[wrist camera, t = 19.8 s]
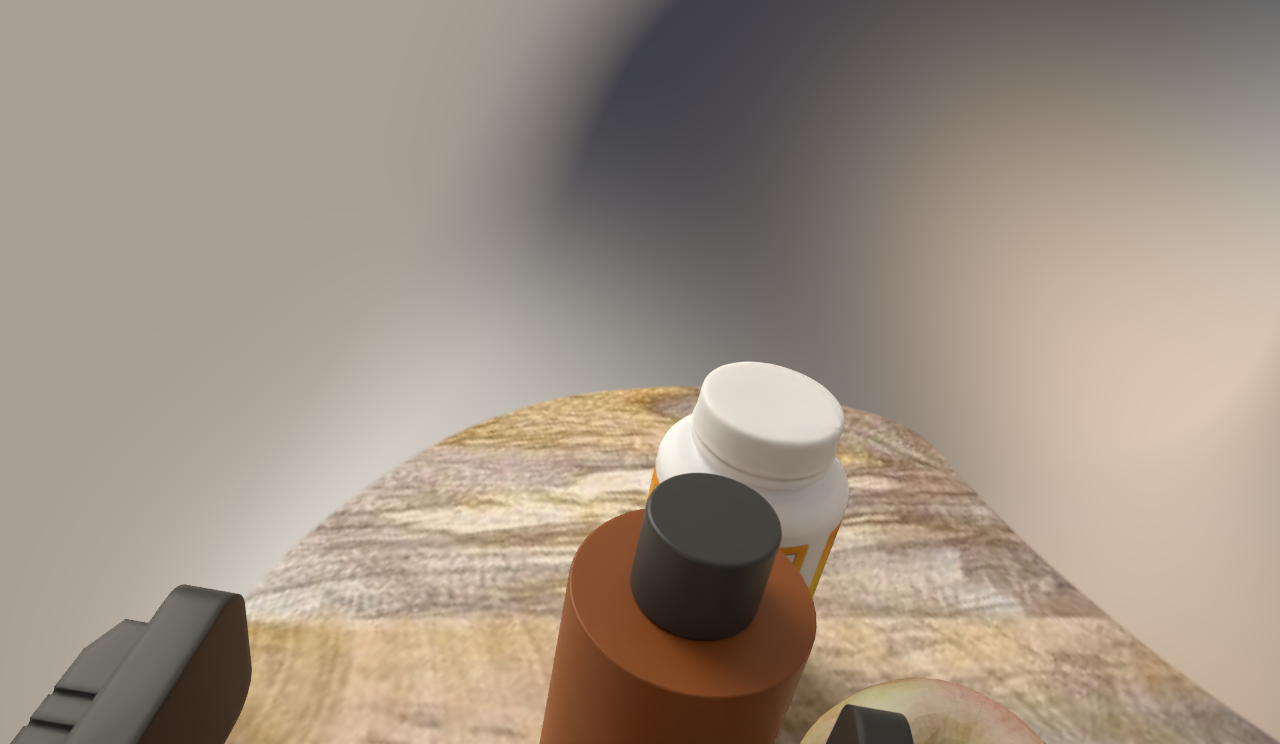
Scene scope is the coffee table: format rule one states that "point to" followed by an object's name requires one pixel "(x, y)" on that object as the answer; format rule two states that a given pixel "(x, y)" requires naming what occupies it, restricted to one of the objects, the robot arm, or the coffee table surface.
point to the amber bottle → (681, 623)
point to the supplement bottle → (769, 452)
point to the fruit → (935, 714)
